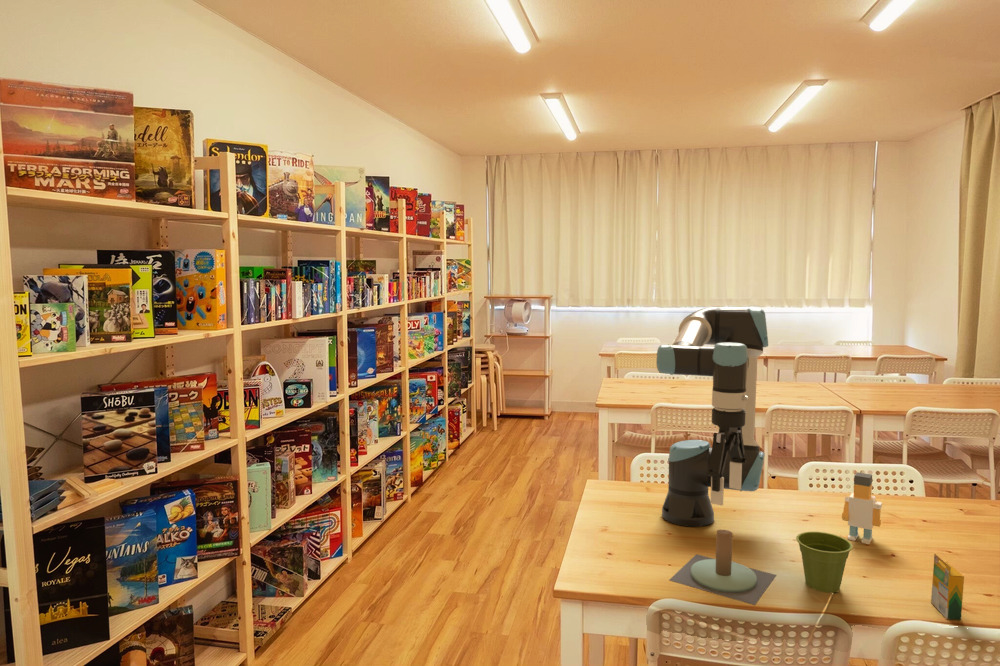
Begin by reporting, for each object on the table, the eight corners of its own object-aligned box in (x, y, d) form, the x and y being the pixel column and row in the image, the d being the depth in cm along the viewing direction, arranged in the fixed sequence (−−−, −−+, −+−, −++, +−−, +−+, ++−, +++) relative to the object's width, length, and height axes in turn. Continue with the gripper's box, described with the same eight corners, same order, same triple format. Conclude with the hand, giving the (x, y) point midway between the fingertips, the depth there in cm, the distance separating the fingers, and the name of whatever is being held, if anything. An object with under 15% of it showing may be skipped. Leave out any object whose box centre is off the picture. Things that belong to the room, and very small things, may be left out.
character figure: (884, 544, 179) (888, 479, 178) (845, 543, 180) (848, 479, 178) (870, 533, 187) (873, 471, 185) (832, 532, 188) (835, 470, 186)
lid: (681, 580, 158) (682, 535, 157) (703, 558, 170) (704, 516, 169) (745, 598, 149) (747, 551, 148) (764, 574, 161) (765, 530, 160)
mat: (668, 582, 158) (668, 580, 158) (696, 556, 172) (696, 554, 172) (754, 607, 146) (754, 604, 146) (776, 577, 160) (776, 574, 160)
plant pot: (786, 575, 161) (788, 531, 160) (835, 576, 161) (837, 531, 160) (807, 599, 150) (809, 551, 148) (860, 600, 149) (862, 552, 148)
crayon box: (962, 620, 140) (965, 568, 139) (946, 619, 141) (949, 567, 140) (945, 603, 147) (948, 553, 146) (930, 602, 148) (933, 552, 147)
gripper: (727, 419, 143) (725, 514, 145) (760, 401, 163) (757, 485, 165) (694, 415, 148) (691, 507, 150) (729, 398, 168) (727, 479, 170)
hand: (726, 496), depth 157 cm, fingers open, 13 cm apart
